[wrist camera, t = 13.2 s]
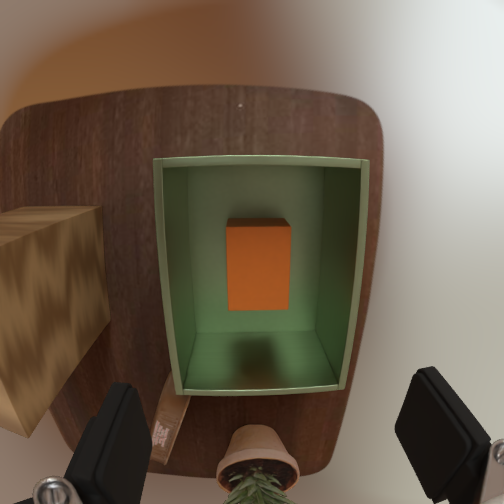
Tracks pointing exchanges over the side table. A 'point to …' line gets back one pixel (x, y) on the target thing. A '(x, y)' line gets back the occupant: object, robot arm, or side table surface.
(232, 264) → the block
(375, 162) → the side table surface
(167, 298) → the trash bin
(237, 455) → the potted plant
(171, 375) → the tin
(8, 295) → the wood grain block
